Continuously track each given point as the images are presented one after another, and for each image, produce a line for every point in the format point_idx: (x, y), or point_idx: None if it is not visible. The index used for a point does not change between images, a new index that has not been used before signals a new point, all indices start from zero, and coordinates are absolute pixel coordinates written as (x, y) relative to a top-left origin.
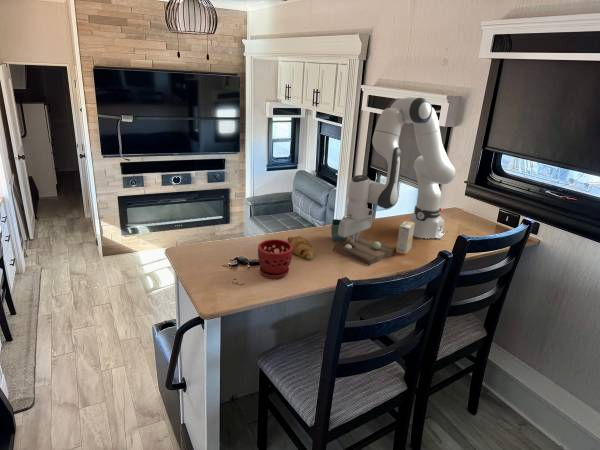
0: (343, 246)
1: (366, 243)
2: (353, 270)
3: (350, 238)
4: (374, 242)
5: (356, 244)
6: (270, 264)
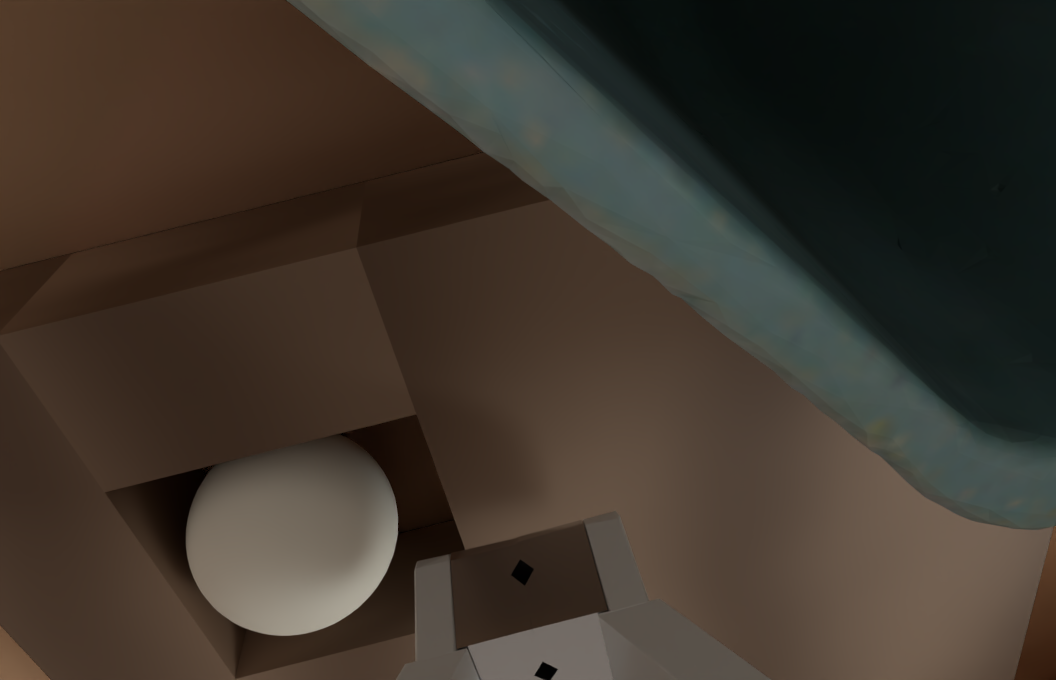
0: (139, 539)
1: (835, 561)
2: None
3: (415, 650)
4: (1025, 567)
5: None
6: None
